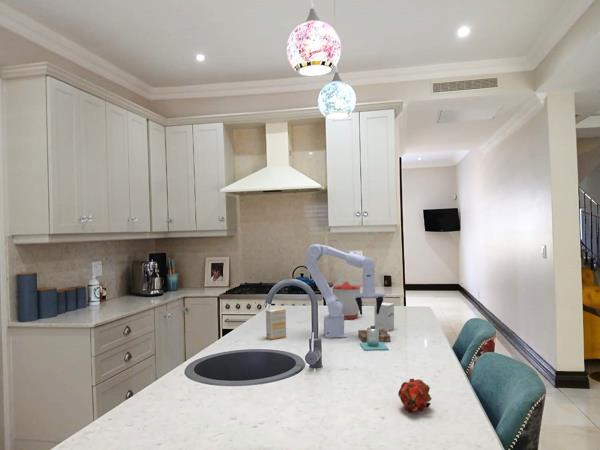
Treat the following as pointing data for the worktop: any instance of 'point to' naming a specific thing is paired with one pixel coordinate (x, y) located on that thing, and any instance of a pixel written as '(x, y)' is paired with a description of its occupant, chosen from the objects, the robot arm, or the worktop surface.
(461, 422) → the worktop surface
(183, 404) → the worktop surface
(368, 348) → the teal mat
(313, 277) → the robot arm
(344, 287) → the citrus juicer
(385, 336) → the bore block
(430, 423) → the worktop surface
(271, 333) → the supplement box
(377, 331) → the metal plug
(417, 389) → the dragon fruit
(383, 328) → the white boxy piece
